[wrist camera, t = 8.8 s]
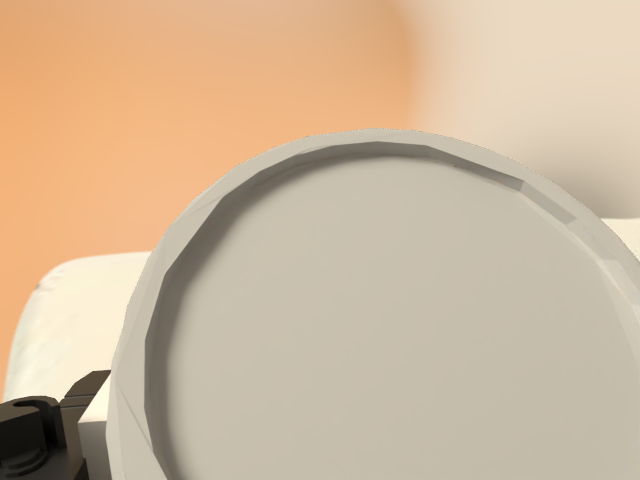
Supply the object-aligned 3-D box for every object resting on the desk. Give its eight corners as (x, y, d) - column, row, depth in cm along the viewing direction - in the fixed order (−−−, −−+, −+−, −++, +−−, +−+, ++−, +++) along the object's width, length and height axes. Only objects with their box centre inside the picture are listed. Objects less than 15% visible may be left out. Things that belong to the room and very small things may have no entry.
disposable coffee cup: (178, 608, 14) (-77, 777, 4) (230, 321, 19) (171, 90, 9) (482, 630, 14) (932, 843, 4) (453, 340, 20) (631, 133, 10)
